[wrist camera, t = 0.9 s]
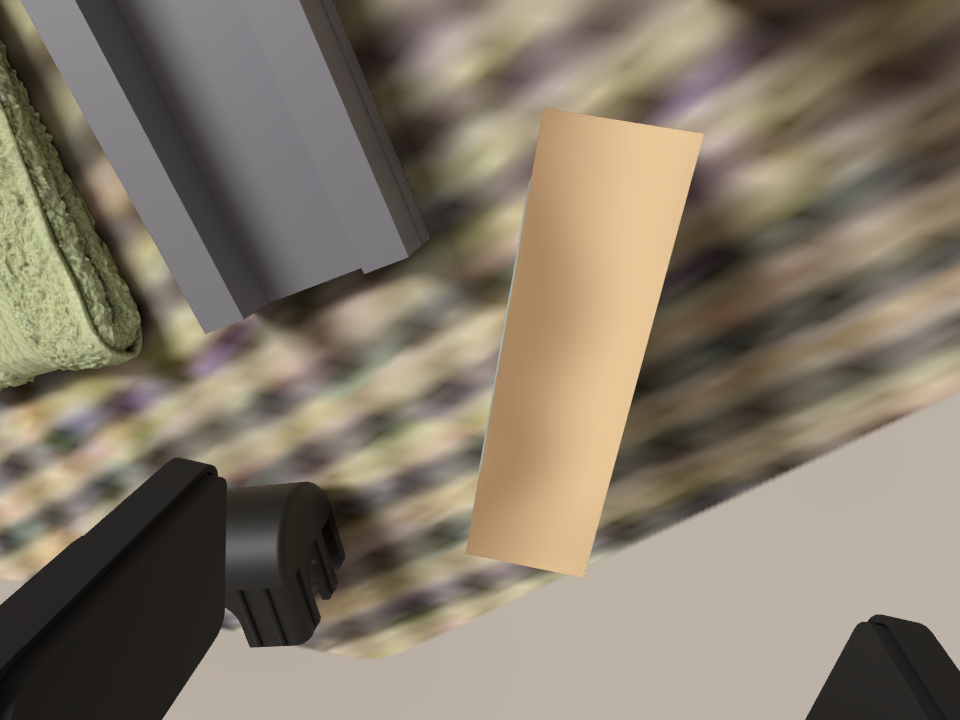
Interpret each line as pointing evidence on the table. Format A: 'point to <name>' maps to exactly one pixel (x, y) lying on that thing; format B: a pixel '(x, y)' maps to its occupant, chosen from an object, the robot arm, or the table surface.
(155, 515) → the robot arm
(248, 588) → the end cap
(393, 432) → the table surface
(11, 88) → the washcloth
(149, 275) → the table surface
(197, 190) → the picture stand
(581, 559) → the wooden picture frame
